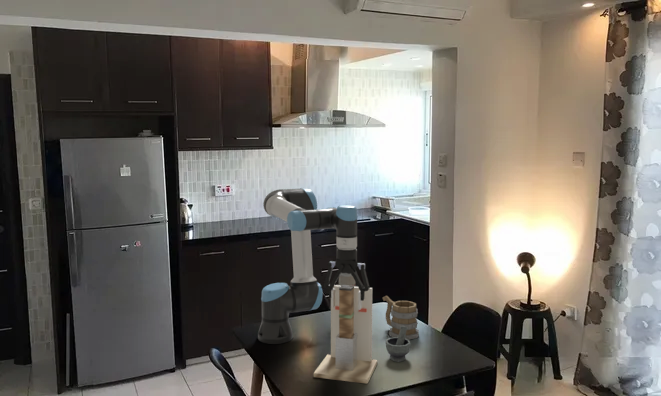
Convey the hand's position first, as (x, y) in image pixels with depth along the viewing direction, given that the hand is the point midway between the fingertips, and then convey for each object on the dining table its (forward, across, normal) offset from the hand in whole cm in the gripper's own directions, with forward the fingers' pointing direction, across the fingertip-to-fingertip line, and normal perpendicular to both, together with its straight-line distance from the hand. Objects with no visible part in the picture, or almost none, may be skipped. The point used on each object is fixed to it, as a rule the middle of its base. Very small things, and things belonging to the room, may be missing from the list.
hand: (346, 307), depth 202 cm
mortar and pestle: (+24, +17, +17) cm, 34 cm away
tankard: (+24, +12, +46) cm, 53 cm away
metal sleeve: (+23, 0, 0) cm, 23 cm away
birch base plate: (+24, 0, 0) cm, 24 cm away
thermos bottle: (+24, -14, +56) cm, 63 cm away
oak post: (+16, 0, 0) cm, 16 cm away
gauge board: (+23, 0, +7) cm, 24 cm away
